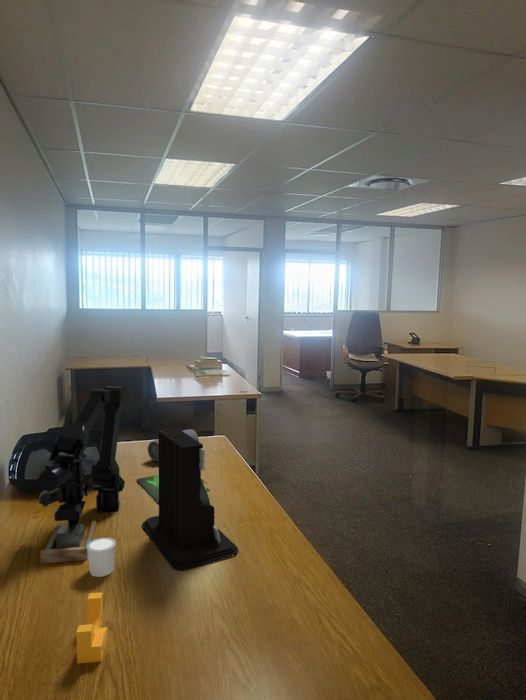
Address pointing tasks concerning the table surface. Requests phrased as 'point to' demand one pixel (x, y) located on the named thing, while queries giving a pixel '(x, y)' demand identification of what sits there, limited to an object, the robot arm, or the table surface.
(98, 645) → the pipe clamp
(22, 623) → the table surface
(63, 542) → the block
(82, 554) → the brown u-shaped frame
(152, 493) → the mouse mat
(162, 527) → the award
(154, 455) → the bluetooth speaker
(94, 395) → the robot arm
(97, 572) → the white cylinder
